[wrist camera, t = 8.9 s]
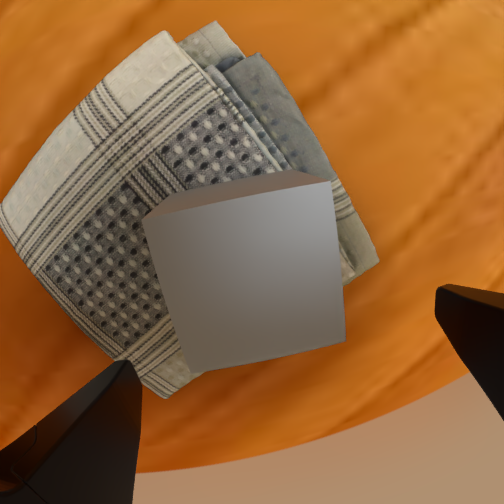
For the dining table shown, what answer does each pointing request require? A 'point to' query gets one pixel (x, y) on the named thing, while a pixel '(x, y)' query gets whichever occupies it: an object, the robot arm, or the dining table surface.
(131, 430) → the robot arm
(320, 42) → the dining table surface
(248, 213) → the slate block
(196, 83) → the dish towel
